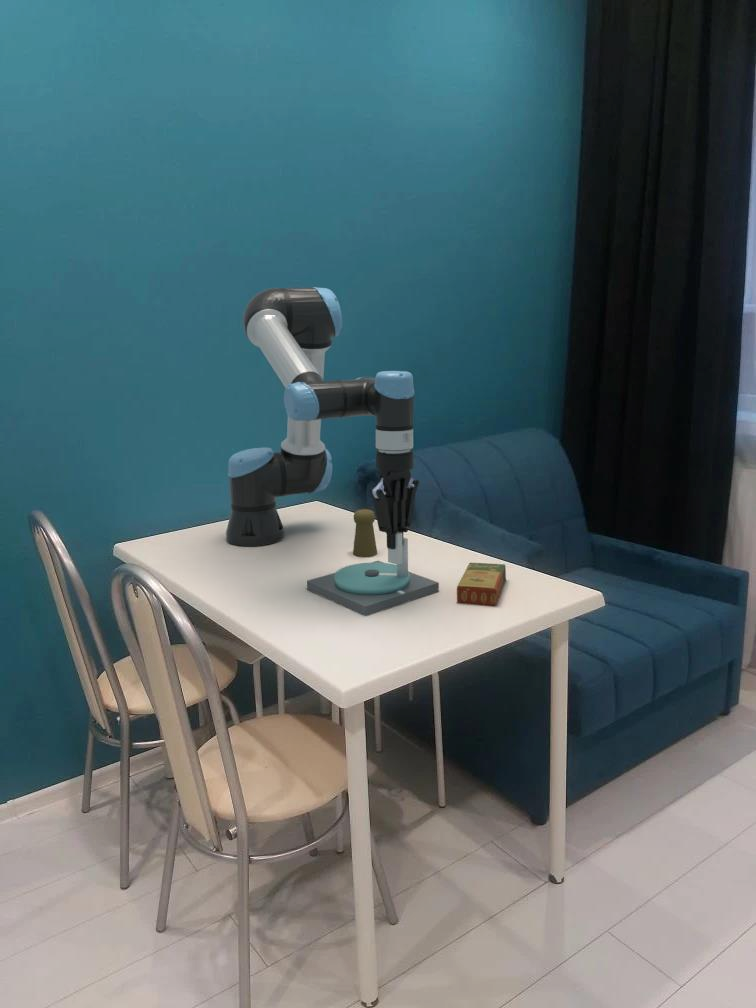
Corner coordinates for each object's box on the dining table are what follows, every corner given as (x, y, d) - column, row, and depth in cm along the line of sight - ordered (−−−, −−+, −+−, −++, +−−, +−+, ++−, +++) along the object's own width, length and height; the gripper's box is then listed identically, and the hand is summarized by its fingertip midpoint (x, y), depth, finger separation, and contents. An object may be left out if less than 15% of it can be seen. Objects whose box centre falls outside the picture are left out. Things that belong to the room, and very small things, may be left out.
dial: (327, 593, 160) (326, 549, 157) (342, 567, 175) (340, 527, 173) (405, 595, 157) (405, 551, 155) (413, 569, 173) (412, 528, 170)
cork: (378, 549, 194) (377, 507, 192) (376, 557, 188) (375, 513, 186) (354, 549, 195) (353, 507, 192) (351, 557, 189) (350, 513, 186)
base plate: (307, 589, 168) (306, 579, 167) (378, 568, 180) (378, 559, 180) (365, 616, 153) (365, 605, 152) (438, 591, 165) (438, 581, 165)
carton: (455, 604, 159) (455, 585, 158) (468, 578, 174) (468, 560, 173) (496, 608, 157) (497, 587, 156) (506, 581, 172) (506, 563, 171)
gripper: (387, 456, 148) (388, 574, 154) (429, 447, 158) (428, 558, 163) (358, 452, 153) (360, 566, 159) (401, 443, 162) (401, 551, 168)
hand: (395, 562), depth 161 cm, fingers closed
